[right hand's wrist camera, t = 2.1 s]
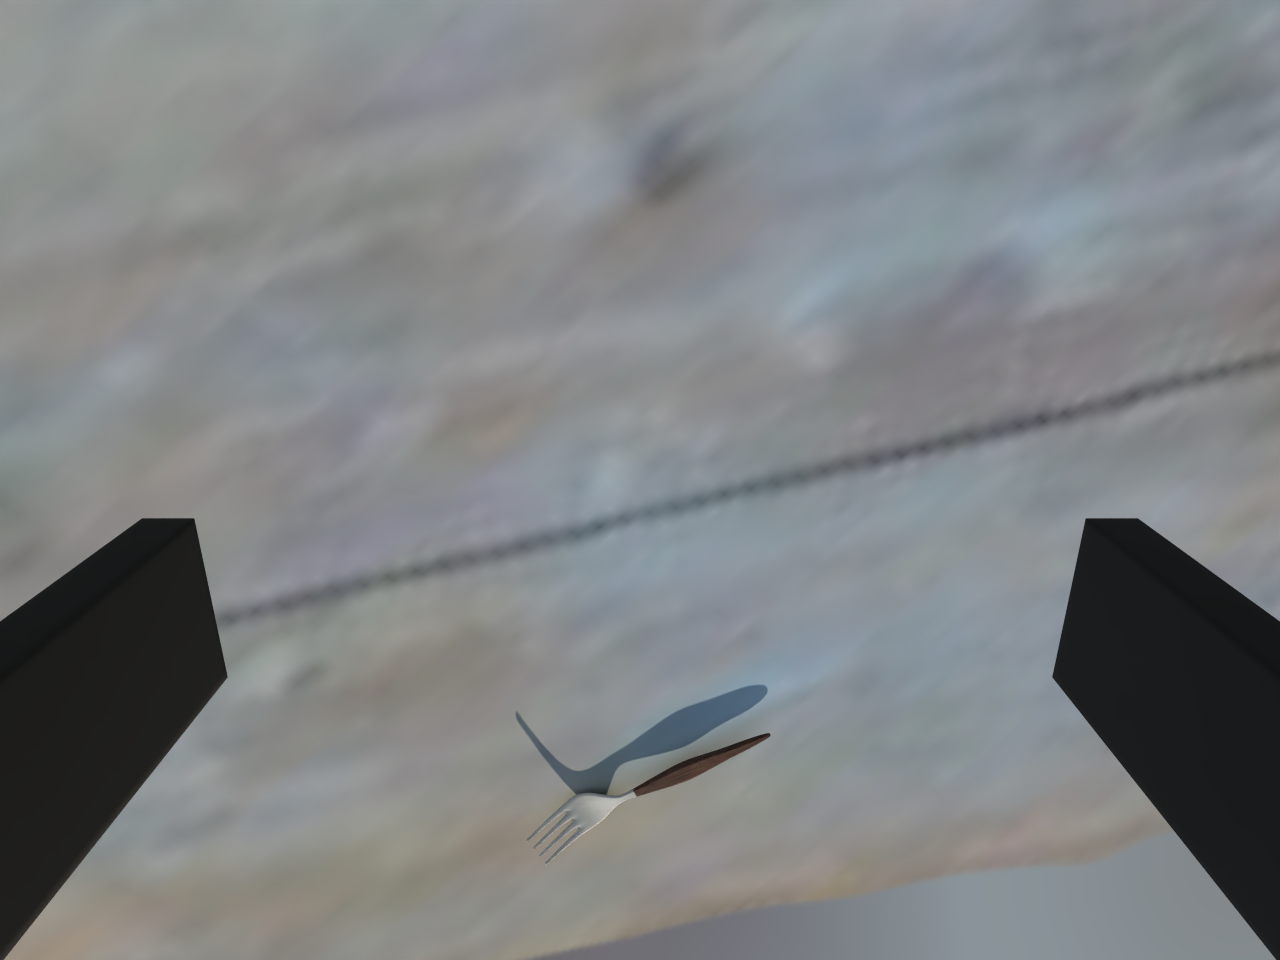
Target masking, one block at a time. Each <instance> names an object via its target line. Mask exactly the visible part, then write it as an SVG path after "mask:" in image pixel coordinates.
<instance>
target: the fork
mask: <svg viewBox="0 0 1280 960" xmlns="http://www.w3.org/2000/svg"><path fill="white" fill-rule="evenodd" d="M770 736H771V735H770V733H767V734H763V735H759V736H756V737H753V738H750V739H747V740H744V741H741V742H738V743H736V744H733V745H730V746H727V747H725V748H722V749H719V750H716V751H713V752H710V753H707V754H703V755H700V756H697V757H694V758H691V759H688V760H686V761H683V762H681V763H679V764H677V765H675V766H673V767H671V768H669V769H667V770H665V771H664V772H662V773H660V774H658V775H657V776H655V777H653V778H651V779H650V780H648V781H646V782H644V783H643V784H641V785H639V786H637V787H636V788H634V789H632V790H630V791H628V792H626V793H624V794H622V795H618V796H610V795H603V794H598V793H581V794H578V795H576V796H574V797H572V798H571V799H569V800H568V801H567V802H566V803H565V804H563V805H562V806H561V807H560V808H559V809H558V810H557V811H556V812H555V813H553V814H552V815H551V816H550V817H549V818H548V819H547V820H546V821H545V822H544V823H543V824H542V825H541V826H540V827H539V828H538V829H537V830H536V831H535V832H534V833H533V834H532V835H531V836H530V837H529V838H528V839H527V841H530V839H531V838H533V837H534V836H535V835H536V834H537V833H538V832H539V831H541V830H542V829H543V828H544V827H545V826H547V825H548V824H549V823H550V822H551V821H553V820H554V819H555V818H556V817H558V816H559V815H560V814H562V813H563V812H567V814H566V815H565V816H564V817H563V818H562V819H561V820H560V821H559V822H558V823H557V824H556V825H555V826H554V827H553V828H552V829H551V830H550V831H549V832H548V833H547V834H546V835H545V836H544V837H543V838H542V839H541V840H540V841H539V842H538V843H537V844H536V845H535V846H534V847H533V849H535V848H536V847H537V846H538V845H540V844H541V843H542V842H543V841H544V840H545V839H546V838H548V837H549V836H550V835H551V834H552V833H554V832H555V831H556V830H557V829H558V828H560V827H561V826H562V825H563V824H565V823H566V822H567V821H569V820H573V821H572V823H571V824H570V825H569V826H568V827H567V828H566V829H565V830H564V831H563V832H562V833H561V834H560V835H559V836H558V837H557V838H556V839H555V840H554V841H553V842H552V843H551V844H550V845H549V846H548V847H547V848H546V849H545V850H544V851H543V852H542V853H541V854H540V855H539V857H541V856H542V855H543V854H544V853H545V852H547V851H548V850H549V849H550V848H551V847H552V846H553V845H555V844H556V843H557V842H558V841H559V840H560V839H562V838H563V837H564V836H565V835H566V834H568V833H569V832H570V831H572V830H573V829H574V828H577V827H578V830H577V831H576V833H575V834H574V835H573V836H571V837H570V838H569V839H568V840H567V841H566V842H565V843H564V844H563V845H562V846H561V847H560V848H559V849H558V850H557V851H556V852H555V853H554V854H553V855H552V856H551V857H550V859H549V860H548V861H547V862H546V863H545V864H546V865H547V864H548V863H549V862H550V861H551V860H552V859H553V858H554V857H556V856H557V855H558V854H559V853H560V852H561V851H562V850H564V849H565V848H566V847H567V846H568V845H570V844H571V843H572V842H573V841H574V840H576V839H577V838H578V837H579V836H581V835H582V834H584V833H585V832H586V831H588V830H589V829H591V828H592V827H594V826H595V825H597V824H598V823H600V822H601V821H602V820H603V819H604V818H605V817H606V816H607V815H608V814H609V813H610V812H611V811H612V810H613V809H614V808H615V807H616V806H617V805H618V804H620V803H621V802H623V801H626V800H628V799H631V798H634V797H637V796H640V795H644V794H647V793H650V792H654V791H657V790H660V789H664V788H667V787H670V786H673V785H676V784H679V783H682V782H685V781H687V780H690V779H692V778H694V777H696V776H698V775H700V774H702V773H704V772H706V771H708V770H709V769H711V768H713V767H715V766H717V765H718V764H720V763H722V762H724V761H726V760H728V759H730V758H732V757H734V756H736V755H738V754H739V753H741V752H743V751H745V750H747V749H749V748H751V747H753V746H755V745H757V744H758V743H760V742H762V741H764V740H765V739H767V738H768V737H770Z"/></svg>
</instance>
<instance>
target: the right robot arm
mask: <svg viewBox="0 0 1280 960" xmlns="http://www.w3.org/2000/svg"><path fill="white" fill-rule="evenodd" d="M226 679H227V672H226V667H225V662H224V658H223V653H222V648H221V643H220V639H219V634H218V629H217V624H216V620H215V615H214V610H213V605H212V601H211V596H210V591H209V586H208V582H207V577H206V572H205V567H204V563H203V558H202V553H201V548H200V544H199V539H198V534H197V529H196V525H195V520H194V518H142V519H141V520H139V521H138V522H137V523H135V524H134V525H133V526H131V527H130V528H128V529H127V530H126V531H124V532H123V533H121V534H120V535H119V536H117V537H116V538H115V539H113V540H112V541H110V542H109V543H108V544H106V545H105V546H104V547H102V548H101V549H99V550H98V551H97V552H95V553H94V554H93V555H91V556H90V557H88V558H87V559H86V560H84V561H83V562H82V563H80V564H79V565H77V566H76V567H75V568H73V569H72V570H71V571H69V572H68V573H66V574H65V575H64V576H62V577H61V578H60V579H58V580H57V581H55V582H54V583H53V584H51V585H50V586H48V587H47V588H46V589H44V590H43V591H42V592H40V593H39V594H37V595H36V596H35V597H33V598H32V599H31V600H29V601H28V602H26V603H25V604H24V605H22V606H21V607H20V608H18V609H17V610H15V611H14V612H13V613H11V614H10V615H9V616H7V617H6V618H4V619H3V620H2V621H0V960H4V959H5V957H6V956H7V955H8V954H9V952H10V951H11V950H12V949H13V947H14V946H15V945H16V943H17V942H18V941H19V940H20V938H21V937H22V936H23V935H24V933H25V932H26V931H27V930H28V928H29V927H30V926H31V925H32V923H33V922H34V921H35V919H36V918H37V917H38V916H39V914H40V913H41V912H42V911H43V909H44V908H45V907H46V906H47V904H48V903H49V902H50V901H51V899H52V898H53V897H54V896H55V894H56V893H57V892H58V890H59V889H60V888H61V887H62V885H63V884H64V883H65V882H66V880H67V879H68V878H69V877H70V875H71V874H72V873H73V872H74V870H75V869H76V868H77V867H78V865H79V864H80V863H81V861H82V860H83V859H84V858H85V856H86V855H87V854H88V853H89V851H90V850H91V849H92V848H93V846H94V845H95V844H96V843H97V841H98V840H99V839H100V838H101V836H102V835H103V834H104V832H105V831H106V830H107V829H108V827H109V826H110V825H111V824H112V822H113V821H114V820H115V819H116V817H117V816H118V815H119V814H120V812H121V811H122V810H123V808H124V807H125V806H126V805H127V803H128V802H129V801H130V800H131V798H132V797H133V796H134V795H135V793H136V792H137V791H138V790H139V788H140V787H141V786H142V785H143V783H144V782H145V781H146V779H147V778H148V777H149V776H150V774H151V773H152V772H153V771H154V769H155V768H156V767H157V766H158V764H159V763H160V762H161V761H162V759H163V758H164V757H165V756H166V754H167V753H168V752H169V750H170V749H171V748H172V747H173V745H174V744H175V743H176V742H177V740H178V739H179V738H180V737H181V735H182V734H183V733H184V732H185V730H186V729H187V728H188V727H189V725H190V724H191V723H192V721H193V720H194V719H195V718H196V716H197V715H198V714H199V713H200V711H201V710H202V709H203V708H204V706H205V705H206V704H207V703H208V701H209V700H210V699H211V697H212V696H213V695H214V694H215V692H216V691H217V690H218V689H219V687H220V686H221V685H222V684H223V682H224V681H225V680H226ZM1053 679H1054V680H1055V681H1056V682H1057V684H1058V685H1059V686H1060V687H1061V689H1062V690H1063V691H1064V692H1065V694H1066V695H1067V696H1068V697H1069V699H1070V700H1071V701H1072V703H1073V704H1074V705H1075V706H1076V708H1077V709H1078V710H1079V711H1080V713H1081V714H1082V715H1083V716H1084V718H1085V719H1086V720H1087V721H1088V723H1089V724H1090V725H1091V727H1092V728H1093V729H1094V730H1095V732H1096V733H1097V734H1098V735H1099V737H1100V738H1101V739H1102V740H1103V742H1104V743H1105V744H1106V745H1107V747H1108V748H1109V749H1110V750H1111V752H1112V753H1113V754H1114V756H1115V757H1116V758H1117V759H1118V761H1119V762H1120V763H1121V764H1122V766H1123V767H1124V768H1125V769H1126V771H1127V772H1128V773H1129V774H1130V776H1131V777H1132V778H1133V779H1134V781H1135V782H1136V783H1137V785H1138V786H1139V787H1140V788H1141V790H1142V791H1143V792H1144V793H1145V795H1146V796H1147V797H1148V798H1149V800H1150V801H1151V802H1152V803H1153V805H1154V806H1155V807H1156V808H1157V810H1158V811H1159V812H1160V814H1161V815H1162V816H1163V817H1164V819H1165V820H1166V821H1167V822H1168V824H1169V825H1170V826H1171V827H1172V829H1173V830H1174V831H1175V832H1176V834H1177V835H1178V836H1179V837H1180V839H1181V840H1182V841H1183V843H1184V844H1185V845H1186V846H1187V848H1188V849H1189V850H1190V851H1191V853H1192V854H1193V855H1194V856H1195V858H1196V859H1197V860H1198V861H1199V863H1200V864H1201V865H1202V867H1203V868H1204V869H1205V870H1206V872H1207V873H1208V874H1209V875H1210V877H1211V878H1212V879H1213V880H1214V882H1215V883H1216V884H1217V885H1218V887H1219V888H1220V889H1221V890H1222V892H1223V893H1224V894H1225V895H1226V897H1227V898H1228V899H1229V900H1230V902H1231V903H1232V904H1233V905H1234V907H1235V908H1236V909H1237V911H1238V912H1239V913H1240V914H1241V916H1242V917H1243V918H1244V919H1245V921H1246V922H1247V923H1248V924H1249V926H1250V927H1251V928H1252V930H1253V931H1254V932H1255V933H1256V935H1257V936H1258V937H1259V938H1260V940H1261V941H1262V942H1263V943H1264V945H1265V946H1266V947H1267V948H1268V950H1269V951H1270V952H1271V954H1272V955H1273V956H1274V957H1275V959H1276V960H1280V621H1278V620H1277V619H1276V618H1274V617H1273V616H1271V615H1270V614H1269V613H1267V612H1266V611H1265V610H1263V609H1262V608H1260V607H1259V606H1258V605H1256V604H1255V603H1254V602H1252V601H1251V600H1249V599H1248V598H1247V597H1245V596H1244V595H1243V594H1241V593H1240V592H1238V591H1237V590H1236V589H1234V588H1233V587H1232V586H1230V585H1229V584H1227V583H1226V582H1225V581H1223V580H1222V579H1220V578H1219V577H1218V576H1216V575H1215V574H1214V573H1212V572H1211V571H1209V570H1208V569H1207V568H1205V567H1204V566H1203V565H1201V564H1200V563H1198V562H1197V561H1196V560H1194V559H1193V558H1192V557H1190V556H1189V555H1187V554H1186V553H1185V552H1183V551H1182V550H1181V549H1179V548H1178V547H1176V546H1175V545H1174V544H1172V543H1171V542H1170V541H1168V540H1167V539H1165V538H1164V537H1163V536H1161V535H1160V534H1159V533H1157V532H1156V531H1154V530H1153V529H1152V528H1150V527H1149V526H1147V525H1146V524H1145V523H1143V522H1142V521H1141V520H1139V519H1138V518H1086V520H1085V525H1084V529H1083V534H1082V539H1081V544H1080V548H1079V553H1078V558H1077V563H1076V567H1075V572H1074V577H1073V582H1072V586H1071V591H1070V596H1069V601H1068V605H1067V610H1066V615H1065V620H1064V624H1063V629H1062V634H1061V639H1060V643H1059V648H1058V653H1057V658H1056V662H1055V667H1054V672H1053Z"/></svg>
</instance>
